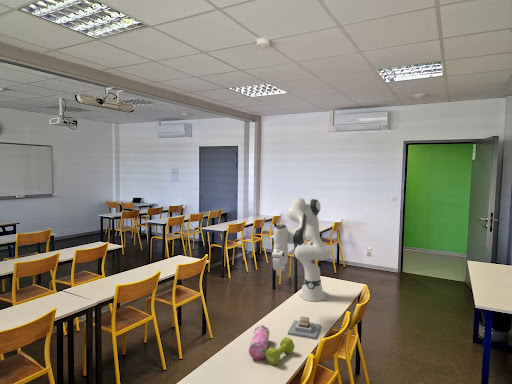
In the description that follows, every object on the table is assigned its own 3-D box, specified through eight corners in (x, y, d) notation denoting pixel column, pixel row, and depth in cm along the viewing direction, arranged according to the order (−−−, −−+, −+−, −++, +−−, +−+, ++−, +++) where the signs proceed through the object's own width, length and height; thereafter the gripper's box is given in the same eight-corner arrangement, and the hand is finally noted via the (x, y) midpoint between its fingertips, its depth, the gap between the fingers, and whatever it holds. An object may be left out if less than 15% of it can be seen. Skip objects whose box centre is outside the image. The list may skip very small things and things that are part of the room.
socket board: (294, 322, 199) (294, 317, 199) (320, 326, 193) (320, 321, 193) (287, 334, 184) (287, 328, 184) (315, 339, 178) (315, 333, 178)
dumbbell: (277, 368, 152) (276, 353, 152) (263, 362, 158) (263, 347, 157) (296, 353, 165) (296, 339, 165) (283, 348, 170) (283, 334, 170)
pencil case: (254, 338, 180) (254, 322, 180) (270, 339, 179) (270, 323, 178) (247, 360, 159) (247, 342, 159) (266, 362, 158) (266, 344, 157)
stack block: (301, 325, 192) (301, 315, 191) (309, 327, 190) (309, 317, 190) (299, 329, 187) (299, 319, 187) (307, 330, 186) (307, 320, 185)
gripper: (280, 247, 212) (280, 268, 213) (270, 254, 193) (271, 277, 194) (290, 247, 210) (290, 268, 211) (281, 255, 191) (281, 278, 192)
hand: (280, 273), depth 202 cm, fingers open, 8 cm apart
